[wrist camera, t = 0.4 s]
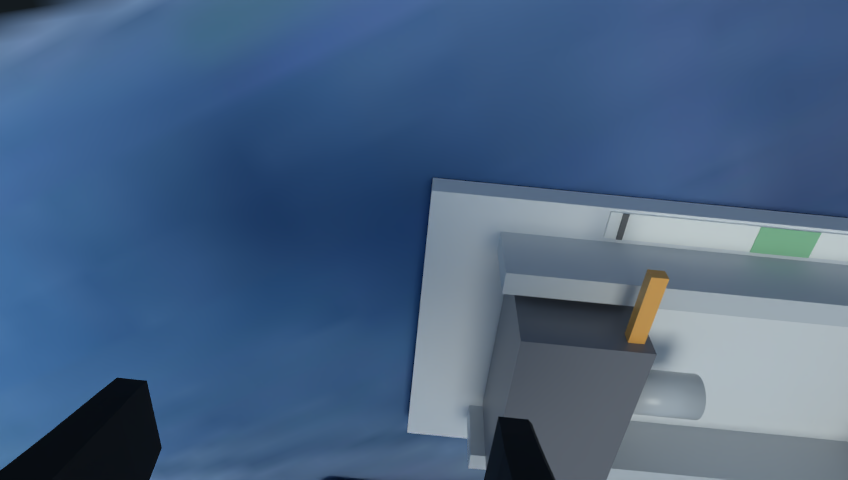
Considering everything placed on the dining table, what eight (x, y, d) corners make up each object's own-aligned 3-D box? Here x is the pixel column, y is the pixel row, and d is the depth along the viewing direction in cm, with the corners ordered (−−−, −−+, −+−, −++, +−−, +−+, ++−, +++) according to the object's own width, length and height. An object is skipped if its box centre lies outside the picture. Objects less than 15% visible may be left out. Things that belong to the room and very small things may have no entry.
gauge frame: (886, 460, 26) (991, 599, 21) (408, 414, 26) (397, 542, 21) (1062, 239, 20) (1272, 359, 15) (432, 177, 20) (424, 278, 15)
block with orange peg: (649, 419, 24) (681, 507, 20) (482, 403, 24) (487, 489, 20) (732, 225, 19) (793, 299, 15) (521, 204, 19) (536, 274, 15)
